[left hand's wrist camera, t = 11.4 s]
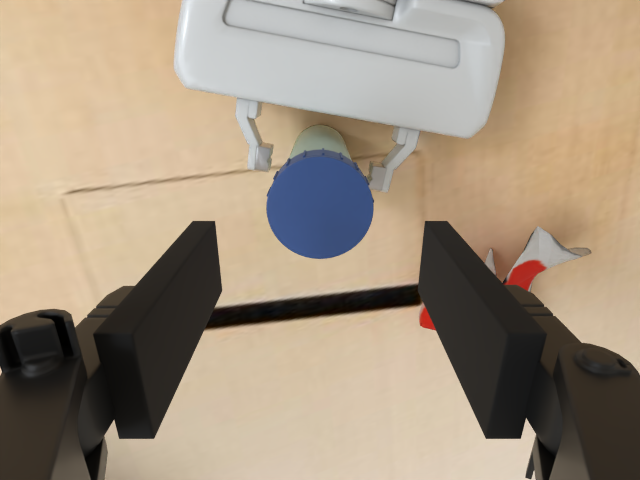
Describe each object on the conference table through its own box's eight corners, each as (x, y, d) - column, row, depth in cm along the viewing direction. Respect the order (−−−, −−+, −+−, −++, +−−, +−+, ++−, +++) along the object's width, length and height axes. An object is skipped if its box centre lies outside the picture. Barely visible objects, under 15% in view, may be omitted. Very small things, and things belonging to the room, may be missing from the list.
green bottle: (355, 138, 34) (382, 184, 19) (333, 186, 35) (342, 262, 21) (305, 116, 33) (294, 146, 18) (285, 165, 35) (260, 230, 20)
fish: (411, 213, 31) (503, 306, 25) (548, 182, 37) (653, 250, 31) (384, 302, 38) (450, 394, 32) (503, 264, 44) (580, 335, 38)
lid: (387, 172, 21) (393, 181, 19) (343, 258, 22) (346, 275, 20) (292, 130, 20) (289, 136, 18) (256, 223, 22) (250, 237, 20)
